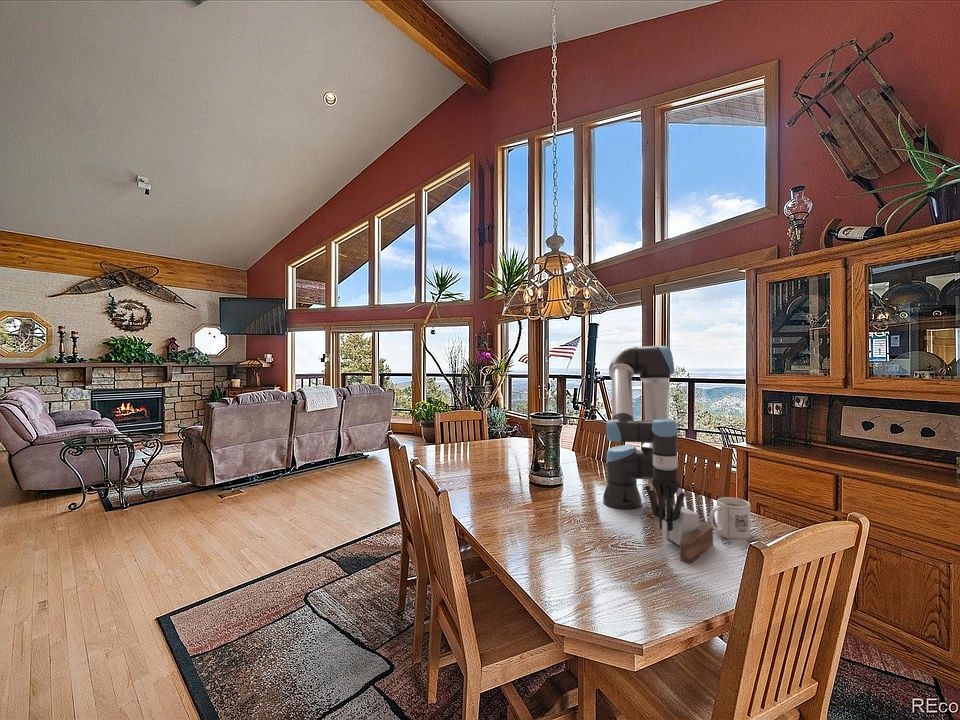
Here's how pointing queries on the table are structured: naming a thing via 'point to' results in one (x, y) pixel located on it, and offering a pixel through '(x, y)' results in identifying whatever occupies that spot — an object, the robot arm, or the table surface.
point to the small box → (684, 525)
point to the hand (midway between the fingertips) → (666, 539)
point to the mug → (732, 518)
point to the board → (696, 543)
